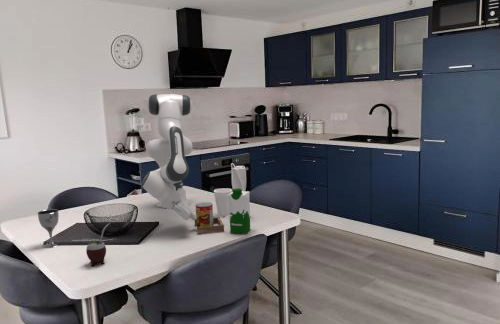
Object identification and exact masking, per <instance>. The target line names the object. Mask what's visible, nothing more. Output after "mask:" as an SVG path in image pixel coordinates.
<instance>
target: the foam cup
mask: <svg viewBox="0 0 500 324" xmlns="http://www.w3.org/2000/svg"><path fill="white" fill-rule="evenodd" d="M231 192H233V188H228V187H227V188H215V189H214V190H213V196H214V201H215V204H216V205H215V206H216V211H217V217H228V215H229V199H228V194H230V193H231ZM229 216H230V215H229Z"/></svg>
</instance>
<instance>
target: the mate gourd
mask: <svg viewBox="0 0 500 324" xmlns="http://www.w3.org/2000/svg"><path fill="white" fill-rule="evenodd" d="M110 223H111V222H109V223H107V224H106V225H105V226H104V227H103V228H102V230H101V235H100V237H99V240H96V241H92V242H91V241H90V242H89V243H88V245H87V246H86V250H85V251H86V256H87V258H88V260H90V266H91V267H95V266H97V265H105V264H106V263H105V257H106V254H107V248H106V244H105V243H104V242H103V241H102V239H103V236H104V233H105V230H106V228H107V227H108V226H109V225H110Z"/></svg>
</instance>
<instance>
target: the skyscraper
mask: <svg viewBox="0 0 500 324" xmlns="http://www.w3.org/2000/svg"><path fill="white" fill-rule="evenodd" d="M230 167H231V186H232V188H231V189H232V190H233V189H242V191H246V188H247V169H246V167H245V165H235V164H234V163H230Z"/></svg>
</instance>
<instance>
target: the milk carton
mask: <svg viewBox="0 0 500 324" xmlns="http://www.w3.org/2000/svg"><path fill="white" fill-rule="evenodd" d="M250 194H251V193H250V191H248V190H247V191H246V190H245V191H242V189H233V188H232V192H231V193H230V194H228V199H229V228H230V229H229V230H230V234H237V235H246V234H248V232H249V231H250V230H251V210H250Z"/></svg>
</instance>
